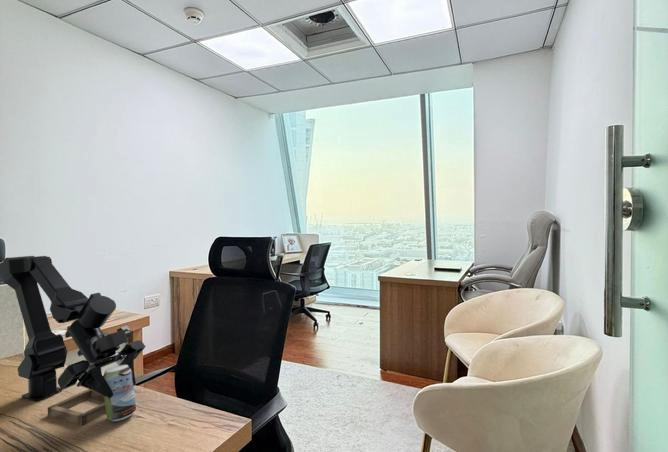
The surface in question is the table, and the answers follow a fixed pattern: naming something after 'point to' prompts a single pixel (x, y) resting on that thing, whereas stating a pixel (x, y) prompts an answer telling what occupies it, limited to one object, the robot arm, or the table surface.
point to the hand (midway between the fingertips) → (123, 390)
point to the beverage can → (119, 393)
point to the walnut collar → (76, 417)
